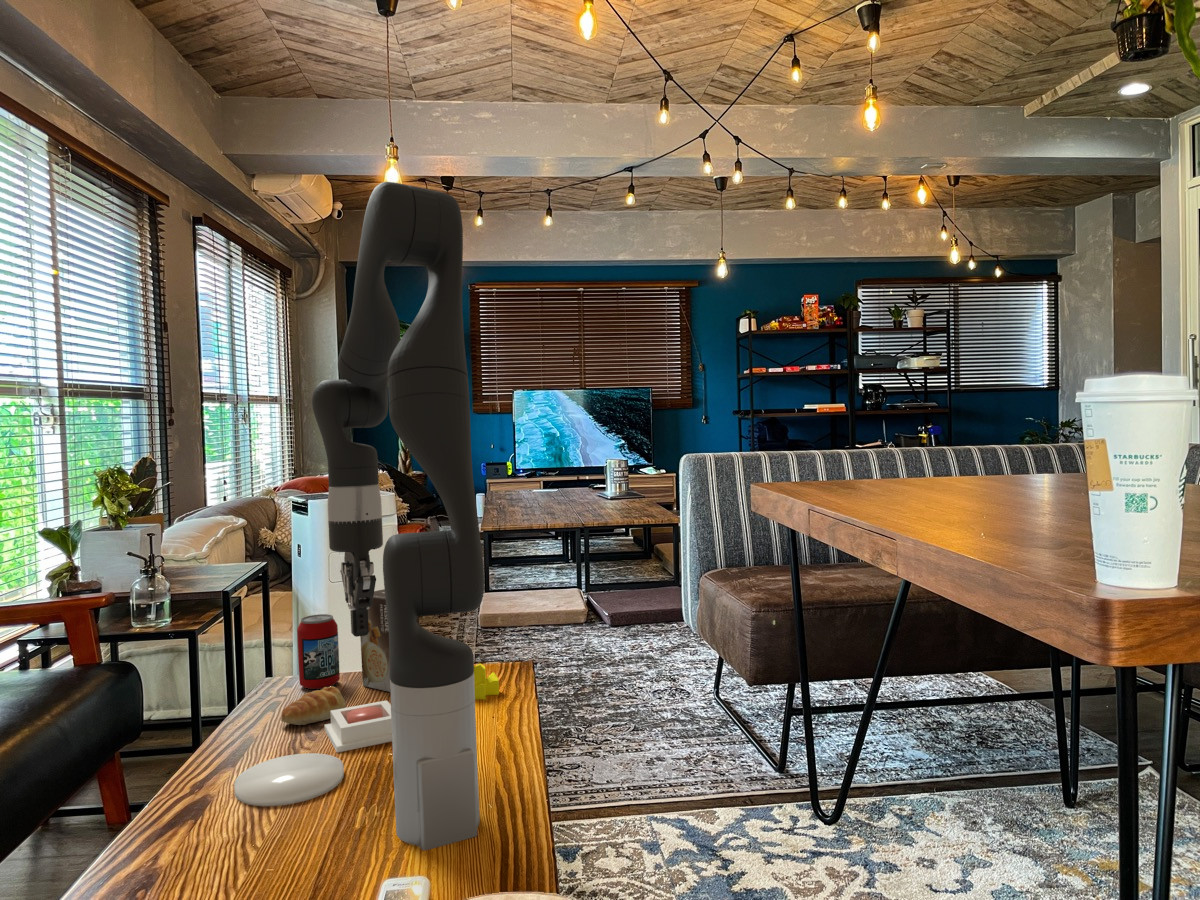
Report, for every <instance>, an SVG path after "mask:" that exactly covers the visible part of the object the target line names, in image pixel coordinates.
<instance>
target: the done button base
mask: <svg viewBox="0 0 1200 900" xmlns="http://www.w3.org/2000/svg"><path fill="white" fill-rule="evenodd" d="M364 707H378V708H381V709H382V711H383V717H382V718H377V719H371V720H366V721H361V722H356V723H351V724H348V722H347V714H348V713H349V712H350V711H352V710H355V709H358V708H364ZM330 715H331V718H330V723H326V724H323V725H324V731H326V732H325V733H326V735H327V737H328V739H329V741H330V743H331V744H332V746H333V748H334V749H335V751H336V753H337V754H338V753H343V752H346V751H351V750H356V749H361V748H365V747H371V746H376V745H381V744H385V743H390V742H391V743H392V722H391V702H389V701H388V700H382V701H381V700H380V701H376V702H375V701H374V702H371V703H365V704H360V705H359V704H358V705H353V706H347V707H346V708H342V709H337V710H331V711H330Z"/></svg>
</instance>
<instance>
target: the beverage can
mask: <svg viewBox="0 0 1200 900" xmlns="http://www.w3.org/2000/svg"><path fill="white" fill-rule="evenodd" d="M296 629H297V630H296V632H297V634H296V635H297V658H298V660H297V661H298V677H299V678H298V680H299V685H300V686H301V687H303V688H305V689H306V688H308V689H307V690H309V689H320V690H322V689H323V688H324V687H330V686H333V687H334V685H335V684H336V683H337V682H339V681H340V676H341V675H340V673H341V672H340V651H339V650H340V649H339V648H340V647H339V628H338V624H337V622H336V620H335V618H334V616H333V615H332V614H329V613H328V614H327V613H326V614H325V613H323V614H322V613H320V614H319V613H318V614H311V615H307V616H304V617H302V618H300V622H299V625H298V626H297V628H296Z"/></svg>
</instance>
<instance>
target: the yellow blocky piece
mask: <svg viewBox="0 0 1200 900" xmlns="http://www.w3.org/2000/svg"><path fill="white" fill-rule="evenodd" d="M474 687H475V701H476V700H484V701H486V699H487V698H486V697H487V696H497V695H498V696H499V695H500V683H499V678H498V677H497V674H496V673H495V672H494V671H492V673H491V674H489V675H488V676H487V673H486V666H485V664H484V665H483V664H482V663H477V664H476V665H475V664H474Z"/></svg>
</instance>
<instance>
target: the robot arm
mask: <svg viewBox="0 0 1200 900" xmlns="http://www.w3.org/2000/svg"><path fill="white" fill-rule="evenodd" d="M364 213H365V214H364V217H363V221H362V229H361V235H360V243H359V249H358V256H357V257H358V258H357V264H356V272H355V279H354V287H353V297H352V305H351V310H350V311H351V312H350V316H349V321H348V325H347V327H346V329H345V330H346V331H345V334H344V337H343V341H342V344H341V348H340V351H339V354H338V357H337V369H338V373H339V375H341V377H342V379H325V380H322V381H321V382H319V383H318V384H317V386H315V388H314V390H313V393H312V396H311V407H312V410H313V415H314V418H315V421H316V423H317V427H318V429H319V433H320V435H321V438H322V442H323V445H324V449H325V454H326V458H327V459H326V460H327V475H328V479H327V480H328V494H327V518H328V520H327V521H328V522H327V523H328V544H329V549H330V550H331V551H332V552H335V553H344V556H343V557H344V559H343V560H344V561H343V562H341V563H340V574H341V580H342V584H343V591H344V592H343V593H344V598H345V602H346V604H347V607H348V609H349V610H350V613H349V614H350V632H351V634H352V635H353V636H354V637H356V638H357V637H360V636H365V635H367V634H368V633H369V626H368V609H369V607H372V604H373V596H374V591H376V590H375V588H376V581H377V577H376V575H375V574H374V573H375V572H374V571H375V569H374V568H375V565H374V562H373V561H371V558H370V554H369V553H370V551H371V550H377V549H381V547H383V545H384V538H383V536H384V535H383V534H384V533H383V510H382V497H381V490H380V485H379V484H380V483H379V479H380V478H379V460H378V459H379V458H378V451H377V449H376V448H375V447H374V446H372V445H369V444H365V443H359V442H353V441H352V440H350V439H349V438H348V437H347V435H346V434H345V430H344V429H357V428H358V429H362V428H363V429H364V428H365V429H367V428H374V427H377V426H378V425H380V424H381V423H382V422H383V421H384V420H385V419H386V418H387V416H388V413H389V420H390V422H391V426H392V428H393V429H394V431H395V434H396V435H397V436H398V438H399V439H400V441H401V443H402V444H403V445H404V447H405V448H406V449H407V450H408V452H409V453H410V454H411V456H412V457H413V458H414V459H415V461H416V462H417V464H419V466H420V467H421V469H422V470H423V471H424V473H425V474H426V475H427V477H428V478H429V480H430V481H431V483H432V485H433V486H434V488H435V490H436V492H437V493H438V496H439V497H440V500H441V501H442V503H443V506H444V508H445V509H444V510H445V511H446V515H447V517H448V521H449V525H450V529H449V530H437V531H436V530H434V531H433V530H432V531H421V532H420V531H418V532H407V533H406V532H405V533H396V534H392V535H391V536H389V538H388V539H387V541H386V542H385V546H384V549H383V554H382V575H383V586H384V587H383V588H384V589H385V599H386V609H387V619H388V630H389V659H390V692H389V693H390V705H391V722H392V741H391V744H392V745H391V746H392V763H393V764H392V768H393V787H394V788H393V792H394V794H393V795H394V808H395V809H394V810H395V811H394V812H395V814H394V815H395V830H396V831H395V832H396V834H395V835H396V836H397V837H398V839H399V838H400V839H399V840H400V841H402V842H403V841H404V842H403V843H405V842H406V844H408V843H409V844H408V845H411V844H412V846H415V845H416V846H415V847H419V848H420V850H421V851H422V852H423V851H428V850H432V849H435V848H439V847H442V846H447V845H450V844H454V843H458V842H461V841H465V840H468V839H473V838H475V837H478V827H479V826H480V821H481V820H480V818H481V817H480V797H479V795H480V794H479V791H480V790H479V772H478V769H479V768H478V747H477V746H478V745H477V723H476V722H477V721H476V719H477V717H476V700H475V687H474V666H475V661H474V660H475V659H474V653H473V649H472V648H471V647H470V646H469V645H468V644H466V643H465V642H463V641H460V640H457V639H454V638H451V637H450V638H449V637H445V636H442V635H438V634H435V633H433V632H431V631H429V630H428V629H425V627H424V628H423V627H422V626H421V625H420V623H419V624H418V623H417V622H416V619H417V617H418V616H419V617H426V616H427V617H428V616H437V615H448V614H449V615H450V614H459V613H460V614H462V613H468V612H472V611H475V610H477V609H478V608H479V607H480V606H481V604H482V602H483V598H484V593H485V570H484V569H485V567H484V566H485V565H484V557H483V549H482V547H483V546H482V541H481V539H482V538H481V532H480V525H479V518H478V517H479V516H478V510H477V501H476V492H475V485H474V474H473V459H472V439H471V437H472V436H471V435H472V433H471V406H470V404H471V403H470V391H469V388H470V387H469V378H468V377H469V375H468V368H467V367H468V365H467V357H466V348H465V335H464V334H465V331H464V316H463V258H464V257H463V256H464V255H463V253H464V252H463V251H464V250H463V249H464V244H463V243H464V242H463V241H464V236H463V235H464V230H463V229H464V228H463V218H462V212H461V208H460V206H459V203H458V201H457V199H456V198H455V197H454V196H452V195H451V194H448V193H445V192H443V191H438V190H434V189H428V188H424V187H419V186H415V185H410V184H409V185H408V184H404V183H399V182H393V181H383V182H381V183H379V184H378V185H376V186H375V187H374V189H373V190H372V192H371V194H370V196H369V199H368V202H367V205H366V209H365V212H364ZM388 262H393V263H399V264H404V265H412V266H416V267H417V266H419V267H426V270H427V274H428V281H427V282H428V285H427V291H426V296H425V299H424V300H423V303H422V305H421V307H420V309H419V311H418V313H417V314H416V315H415V318H414V319H413V321H411V323H410V325H409V327H408V328H407V329H406V331H405V332H404V334H403V335H402V336H401V327H400V320H399V318H398V314H397V312H396V309H395V307H394V305H393V302H392V300H391V297H390V294H389V292H388V289H387V286H386V283H385V269H386V265H387V263H388ZM400 337H401V338H400ZM343 378H344V379H343Z"/></svg>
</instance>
